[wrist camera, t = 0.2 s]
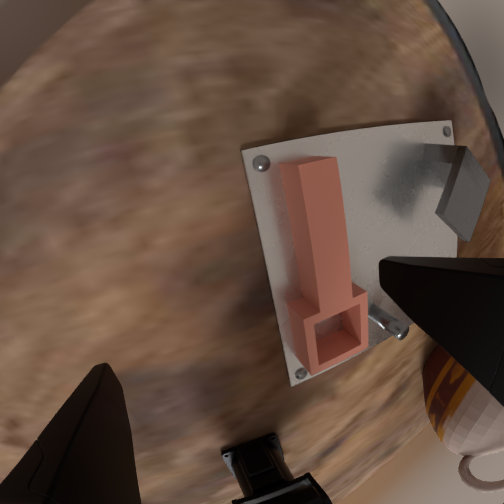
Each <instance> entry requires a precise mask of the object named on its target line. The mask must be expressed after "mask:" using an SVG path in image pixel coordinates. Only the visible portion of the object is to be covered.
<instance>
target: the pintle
mask: <svg viewBox="0 0 504 504" xmlns="http://www.w3.org/2000/svg"><path fill="white" fill-rule="evenodd" d="M368 317H369V318H370V319H371V320H372V321H374V322H375V323H377V324H378V325H379V326H381V327H382V328H383V329H385V330H386V331H388V332H389V333H390V334H392V335H393V336H394V337H396V338H397V339H398V340H402V339H404V338H405V337H406V335H407V334H408V331H409V327H408V326H407V325H406V324H404V323H403V322H401V321H400V320H398V319H397V318H395V317H394V316H392V315H391V314H389V313H388V312H386V311H385V310H383V309H382V308H380V307H379V306H377V305H376V306H373V307H372V308H371V309H370V310H369V313H368Z"/></svg>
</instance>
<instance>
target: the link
mask: <svg viewBox="0 0 504 504" xmlns="http://www.w3.org/2000/svg"><path fill="white" fill-rule="evenodd" d="M279 167H280V172H281V177H282V182H283V187H284V192H285V198H286V203H287V208H288V214H289V219H290V225H291V231H292V236H293V242H294V248H295V254H296V259H297V265H298V271H299V278H300V284H301V290H302V296H303V297H301V298H298V299H296V300H293V301H291V302H288V303H286V304H287V309H288V314H289V320H290V325H291V331H292V337H293V342H294V348H295V353H296V358H297V359H298V360H299V361H300V363H301V364H302V365H303V366H304V368H305V369H306V370H307V371H308V372H309V374H310V375H311V376H312V375H314V374H316V373H319V372H321V371H323V370H325V369H327V368H329V367H331V366H333V365H335V364H337V363H339V362H341V361H343V360H345V359H347V358H349V357H351V356H353V355H355V354H357V353H359V352H361V351H362V350H364V349H366V348H368V297H367V291H366V290H364V289H362V288H361V287H359V286H358V285H356V284H354V283H353V282H351V269H350V258H349V247H348V238H347V229H346V220H345V212H344V204H343V196H342V189H341V182H340V175H339V169H338V163H337V157H330V156H312V157H307V158H302V159H298V160H293V161H288V162H284V163H280V164H279ZM340 312H342V319H343V329H342V330H340V331H338V332H336V333H334V334H332V335H330V336H327V337H325V338H323V339H321V340H319V341H316V338H315V330H314V324H316V323H318V322H320V321H323V320H325V319H327V318H329V317H332V316H334V315H336V314H338V313H340Z"/></svg>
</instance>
